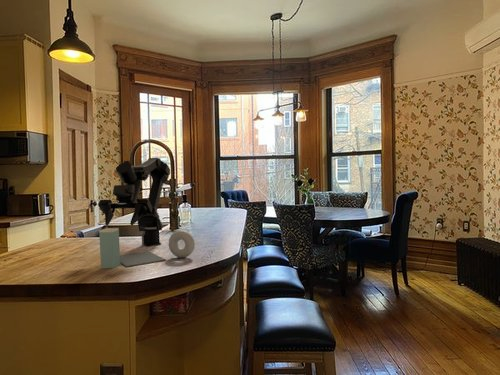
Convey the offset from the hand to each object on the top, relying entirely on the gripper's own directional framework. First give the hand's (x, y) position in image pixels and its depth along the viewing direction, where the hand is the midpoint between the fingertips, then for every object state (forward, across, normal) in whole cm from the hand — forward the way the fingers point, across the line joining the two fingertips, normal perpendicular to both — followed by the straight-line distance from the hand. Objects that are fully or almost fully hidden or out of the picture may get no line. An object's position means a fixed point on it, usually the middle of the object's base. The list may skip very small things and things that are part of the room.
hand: (118, 224), depth 130 cm
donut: (+6, +21, +12) cm, 25 cm away
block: (+14, 0, +4) cm, 15 cm away
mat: (+7, +5, +11) cm, 14 cm away
